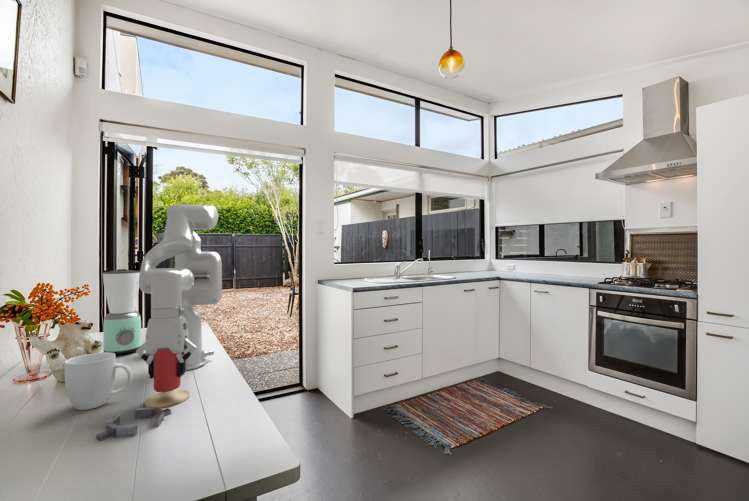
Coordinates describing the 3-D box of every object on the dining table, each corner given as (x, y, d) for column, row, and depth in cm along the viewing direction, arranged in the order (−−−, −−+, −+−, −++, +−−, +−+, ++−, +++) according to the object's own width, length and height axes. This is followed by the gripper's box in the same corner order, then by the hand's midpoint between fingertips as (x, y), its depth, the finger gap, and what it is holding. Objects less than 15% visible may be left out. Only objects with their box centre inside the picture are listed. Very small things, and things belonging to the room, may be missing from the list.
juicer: (146, 353, 148) (145, 269, 148) (106, 360, 139) (105, 270, 139) (136, 344, 162) (135, 268, 162) (99, 350, 153) (98, 269, 153)
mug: (135, 391, 107) (134, 348, 107) (128, 406, 97) (128, 358, 97) (72, 401, 100) (71, 355, 100) (58, 417, 90) (57, 366, 90)
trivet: (176, 389, 108) (176, 387, 108) (197, 396, 102) (197, 394, 102) (136, 402, 99) (136, 400, 99) (157, 411, 93) (157, 409, 93)
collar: (159, 408, 95) (158, 400, 95) (180, 417, 90) (180, 409, 90) (88, 433, 82) (88, 425, 82) (107, 446, 76) (107, 437, 76)
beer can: (153, 395, 96) (152, 350, 96) (154, 387, 102) (154, 345, 102) (180, 390, 99) (180, 347, 99) (180, 382, 105) (180, 342, 105)
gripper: (203, 310, 106) (204, 370, 106) (140, 312, 103) (141, 373, 103) (194, 314, 98) (194, 379, 98) (126, 316, 96) (126, 383, 96)
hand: (167, 375), depth 101 cm, fingers closed on beer can, 6 cm apart
